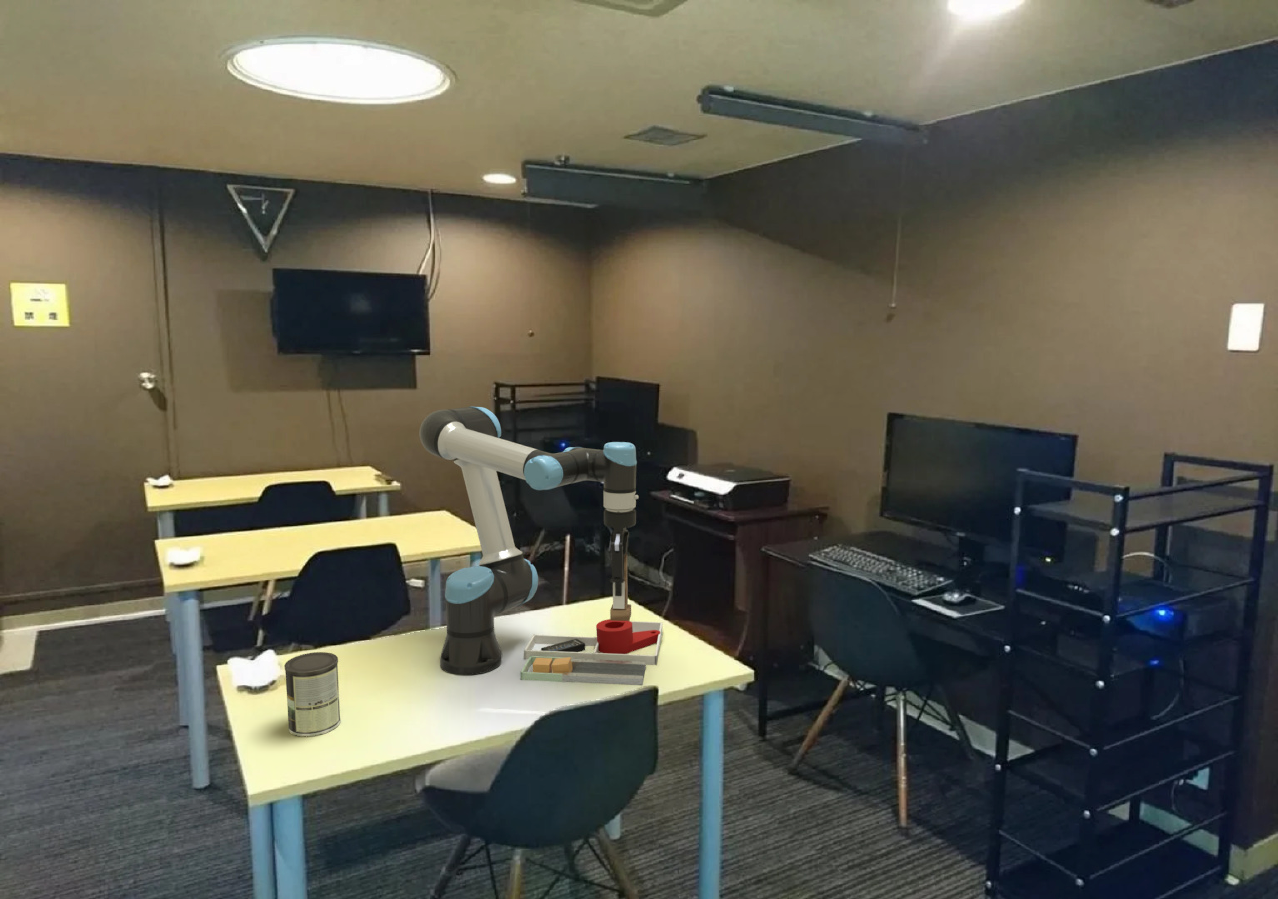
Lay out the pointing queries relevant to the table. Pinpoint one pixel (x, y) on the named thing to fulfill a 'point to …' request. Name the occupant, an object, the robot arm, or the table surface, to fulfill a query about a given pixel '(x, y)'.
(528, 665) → the tray
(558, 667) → the orange block
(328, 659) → the coffee can
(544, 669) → the chip
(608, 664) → the shallow gray tray
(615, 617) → the wooden post on base
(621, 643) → the lever
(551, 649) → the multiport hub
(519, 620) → the table surface
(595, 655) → the organizer
